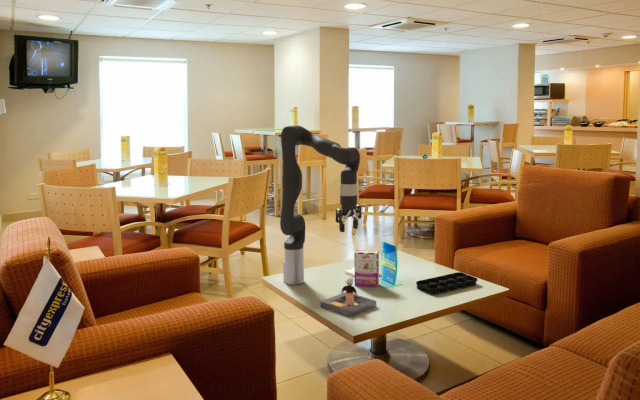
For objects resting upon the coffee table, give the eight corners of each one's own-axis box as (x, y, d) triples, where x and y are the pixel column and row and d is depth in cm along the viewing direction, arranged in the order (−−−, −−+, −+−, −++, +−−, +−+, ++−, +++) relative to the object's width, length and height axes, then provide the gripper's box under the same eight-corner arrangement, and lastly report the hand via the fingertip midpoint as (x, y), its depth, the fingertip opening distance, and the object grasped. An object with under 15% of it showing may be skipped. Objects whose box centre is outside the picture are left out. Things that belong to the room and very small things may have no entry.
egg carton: (480, 284, 259) (481, 277, 259) (443, 299, 239) (443, 291, 239) (449, 276, 272) (450, 269, 272) (411, 290, 252) (411, 282, 252)
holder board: (320, 306, 232) (320, 300, 231) (346, 297, 243) (346, 291, 243) (350, 317, 220) (350, 310, 219) (376, 306, 231) (376, 300, 231)
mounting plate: (342, 273, 280) (342, 269, 279) (362, 268, 286) (362, 265, 286) (363, 282, 265) (363, 278, 264) (384, 277, 271) (384, 273, 271)
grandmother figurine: (359, 305, 233) (359, 277, 230) (356, 308, 229) (356, 279, 227) (342, 303, 235) (342, 275, 233) (339, 306, 232) (339, 277, 230)
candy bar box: (379, 284, 260) (379, 250, 258) (377, 287, 256) (378, 253, 253) (356, 282, 263) (356, 249, 260) (354, 285, 258) (354, 252, 256)
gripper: (353, 191, 244) (353, 226, 247) (331, 194, 235) (331, 231, 237) (366, 192, 239) (365, 228, 242) (343, 196, 229) (344, 234, 232)
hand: (348, 230), depth 240 cm, fingers open, 8 cm apart
